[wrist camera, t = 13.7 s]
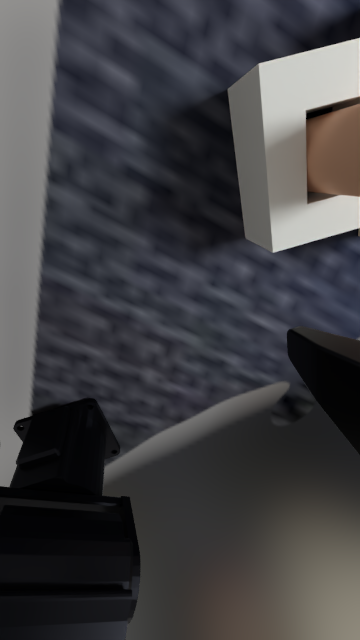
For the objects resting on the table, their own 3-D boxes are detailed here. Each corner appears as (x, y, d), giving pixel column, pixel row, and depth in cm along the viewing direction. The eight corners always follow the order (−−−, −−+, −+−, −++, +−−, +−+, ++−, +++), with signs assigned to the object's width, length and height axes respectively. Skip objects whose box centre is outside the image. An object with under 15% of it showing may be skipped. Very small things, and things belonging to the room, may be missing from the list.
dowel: (325, 182, 18) (451, 187, 11) (271, 196, 18) (365, 210, 11) (326, 115, 17) (475, 71, 10) (267, 130, 16) (375, 96, 9)
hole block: (357, 206, 19) (410, 213, 16) (245, 238, 19) (273, 252, 15) (367, 53, 16) (439, 17, 12) (227, 89, 15) (258, 63, 12)
